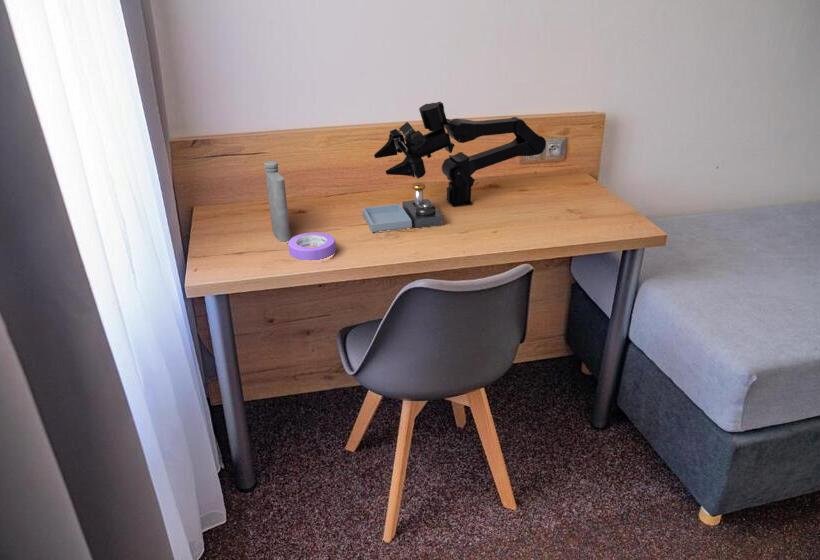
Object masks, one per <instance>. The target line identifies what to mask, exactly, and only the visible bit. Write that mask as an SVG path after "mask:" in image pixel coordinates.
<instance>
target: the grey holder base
mask: <svg viewBox="0 0 820 560" xmlns="http://www.w3.org/2000/svg"><path fill="white" fill-rule="evenodd" d="M401 203H402V208H403V209H404V210H405V212H406V213H407V215H408V216H409V217H410V219H411V220H412V224H413V225H412V227H413V228H414V227H415V228H419V229H423V228H422V227H427V228H432V227H431V226H436V227H442V226H441V225H444V224H443V223H444V222H443V220H444V215H443V214H442V213H441V212H440V211H439V209H438V208H437V207H436V205H434V204H433V203H432V201H431V200H430V199H429V198H423V204H420V205H417V206H416V207H415V199H413V200H405V201H404V200H403V201H402V202H401ZM415 228H414V229H415Z"/></svg>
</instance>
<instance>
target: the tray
mask: <svg viewBox="0 0 820 560" xmlns="http://www.w3.org/2000/svg"><path fill="white" fill-rule="evenodd" d="M363 216H364V217H363ZM362 217H363V218H365V219H364V220H366V221H365V223H366V222H367V223H368V224H367V223H366V224H367V226H368V225H369V226H368V228H369V227H370V228H369V229H371V230H370V232H371V231H372V232H379V231H387V230H396V231H398V230H397V229H405V230H408V229H407V228H412V227H413V225H412V220H411V219H410V217H409V216H408V215H407V213H406V212H405V210H404V209H403V205H401V204H400V203H398V204H396V203H394V204H386V205H378V206H377V205H375V206H368V207H362ZM372 232H371V233H372ZM379 233H380V232H379Z"/></svg>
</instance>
